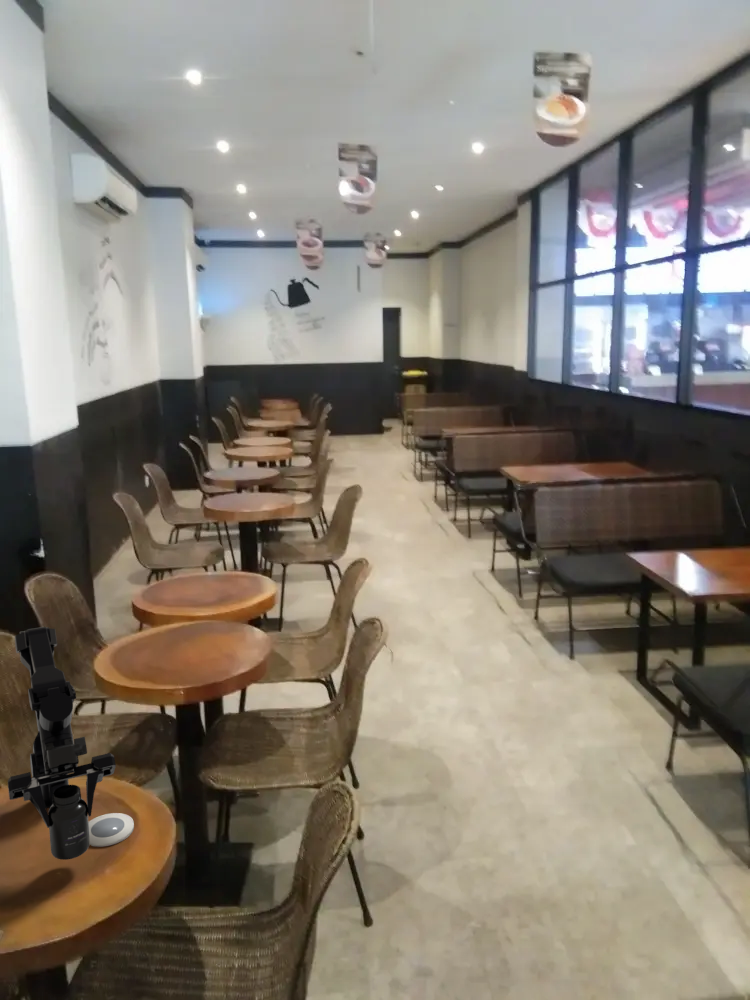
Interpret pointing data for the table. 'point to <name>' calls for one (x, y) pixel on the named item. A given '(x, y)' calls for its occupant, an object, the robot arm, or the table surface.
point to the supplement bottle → (68, 823)
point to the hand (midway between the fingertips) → (69, 821)
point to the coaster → (110, 829)
